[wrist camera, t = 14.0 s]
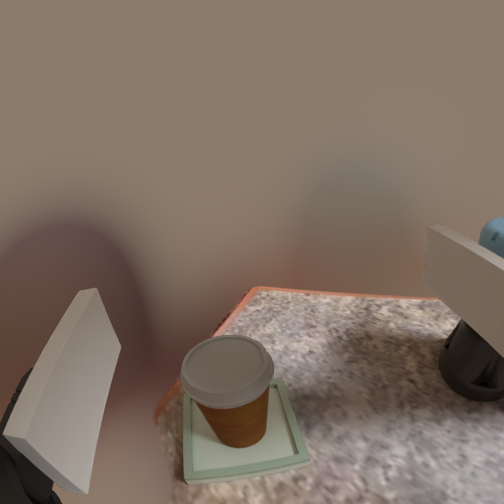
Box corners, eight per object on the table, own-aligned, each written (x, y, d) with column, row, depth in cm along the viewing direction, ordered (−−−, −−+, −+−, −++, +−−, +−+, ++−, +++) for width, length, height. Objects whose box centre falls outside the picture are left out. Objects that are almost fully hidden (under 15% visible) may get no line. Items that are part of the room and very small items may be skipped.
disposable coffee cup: (191, 420, 34) (164, 353, 30) (253, 390, 39) (241, 321, 34) (226, 472, 27) (200, 413, 22) (295, 433, 31) (293, 365, 27)
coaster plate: (282, 385, 41) (282, 377, 40) (309, 465, 28) (310, 458, 27) (186, 401, 39) (183, 393, 38) (188, 484, 26) (184, 478, 26)
